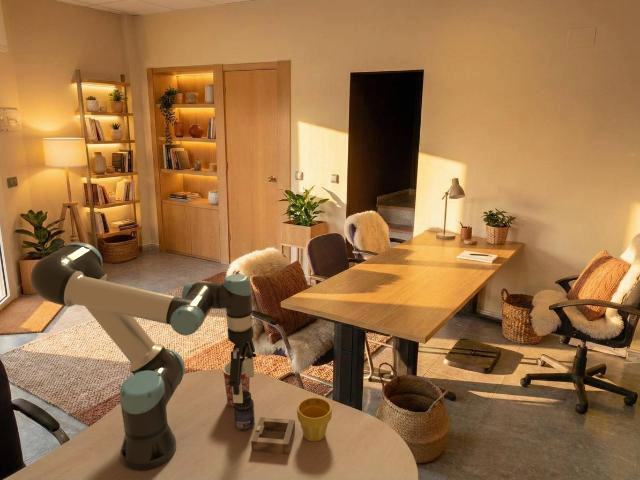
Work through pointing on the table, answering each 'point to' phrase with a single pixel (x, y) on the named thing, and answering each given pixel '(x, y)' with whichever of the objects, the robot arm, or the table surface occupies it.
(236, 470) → the table surface
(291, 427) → the wooden tray
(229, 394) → the mug
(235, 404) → the pill bottle
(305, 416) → the plant pot
